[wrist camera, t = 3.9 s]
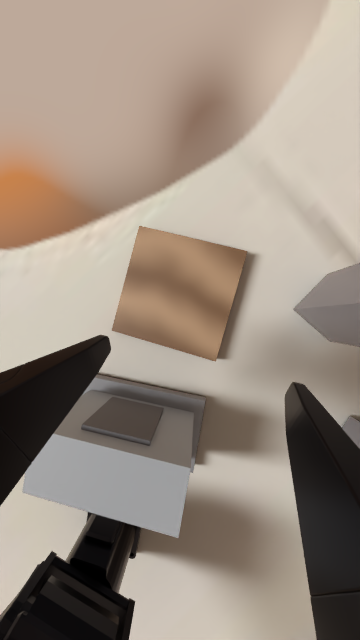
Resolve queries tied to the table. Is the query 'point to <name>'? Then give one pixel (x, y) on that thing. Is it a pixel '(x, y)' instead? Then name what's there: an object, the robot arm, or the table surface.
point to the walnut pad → (179, 292)
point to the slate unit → (122, 454)
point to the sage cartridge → (335, 306)
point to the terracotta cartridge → (353, 430)
